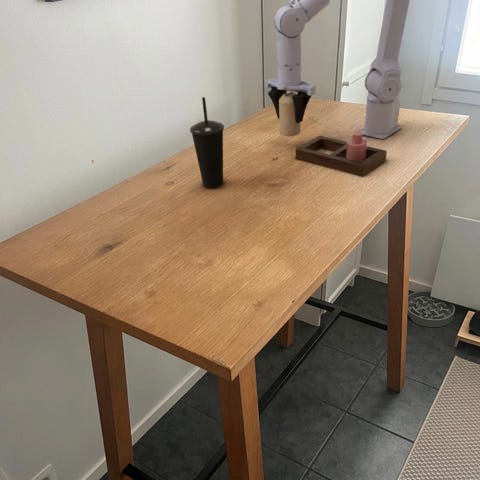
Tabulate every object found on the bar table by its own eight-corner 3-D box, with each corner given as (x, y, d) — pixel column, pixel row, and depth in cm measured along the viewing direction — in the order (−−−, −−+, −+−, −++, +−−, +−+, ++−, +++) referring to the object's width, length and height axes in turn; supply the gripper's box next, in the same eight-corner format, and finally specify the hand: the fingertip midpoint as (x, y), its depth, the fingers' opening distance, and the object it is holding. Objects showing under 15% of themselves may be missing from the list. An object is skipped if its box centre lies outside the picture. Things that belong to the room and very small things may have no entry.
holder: (319, 145, 136) (319, 135, 134) (385, 160, 125) (387, 150, 123) (295, 158, 130) (295, 148, 128) (362, 176, 119) (363, 166, 117)
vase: (352, 158, 127) (354, 128, 123) (369, 162, 125) (371, 132, 120) (341, 165, 125) (343, 134, 120) (358, 169, 122) (361, 138, 117)
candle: (276, 135, 134) (275, 95, 127) (284, 128, 137) (284, 89, 131) (295, 137, 132) (295, 97, 125) (303, 130, 135) (303, 91, 129)
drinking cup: (225, 191, 118) (216, 103, 105) (193, 191, 120) (181, 103, 107) (232, 177, 124) (224, 92, 111) (202, 177, 125) (191, 92, 113)
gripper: (256, 64, 126) (259, 119, 134) (303, 71, 118) (303, 129, 126) (274, 57, 129) (275, 111, 138) (321, 63, 121) (319, 121, 130)
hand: (289, 119), depth 132 cm, fingers closed on candle, 5 cm apart
